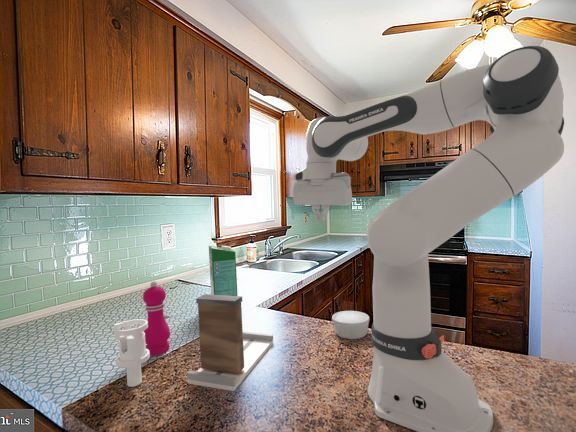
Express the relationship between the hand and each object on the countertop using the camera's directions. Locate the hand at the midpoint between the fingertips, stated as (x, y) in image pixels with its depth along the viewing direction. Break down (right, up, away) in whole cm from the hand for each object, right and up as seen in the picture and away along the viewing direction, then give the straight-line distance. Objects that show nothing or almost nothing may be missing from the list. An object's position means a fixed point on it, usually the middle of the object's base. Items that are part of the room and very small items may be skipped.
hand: (320, 220), depth 92 cm
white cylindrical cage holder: (-46, -38, -20) cm, 63 cm away
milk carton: (-35, -36, +32) cm, 59 cm away
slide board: (-23, -37, -12) cm, 45 cm away
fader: (-25, -35, -18) cm, 47 cm away
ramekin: (+10, -35, +3) cm, 36 cm away
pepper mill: (-47, -37, -4) cm, 60 cm away
